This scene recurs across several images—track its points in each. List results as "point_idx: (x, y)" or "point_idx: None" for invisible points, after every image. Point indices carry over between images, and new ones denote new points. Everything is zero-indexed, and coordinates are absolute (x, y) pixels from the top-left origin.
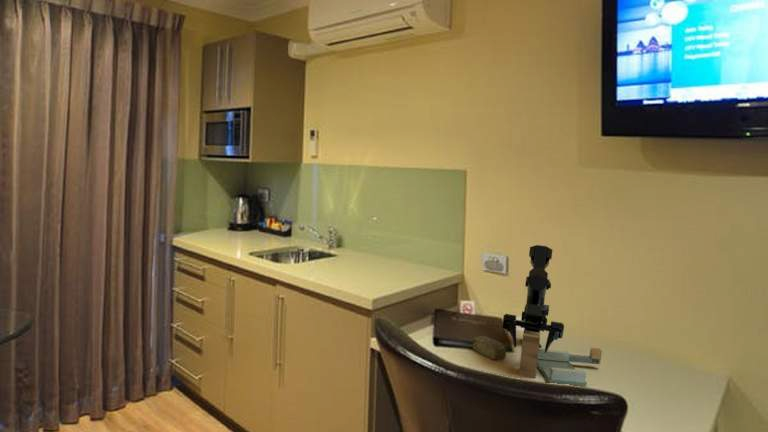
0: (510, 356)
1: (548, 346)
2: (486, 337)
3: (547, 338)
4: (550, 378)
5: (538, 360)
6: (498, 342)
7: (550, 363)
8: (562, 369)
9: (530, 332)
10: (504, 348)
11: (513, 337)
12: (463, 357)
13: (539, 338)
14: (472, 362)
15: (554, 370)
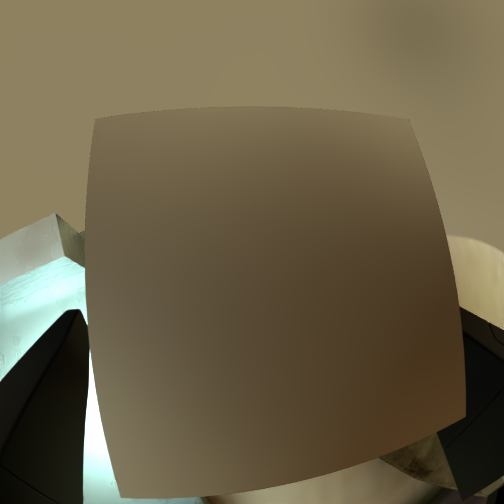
0: (351, 496)
1: (31, 355)
2: (494, 484)
3: (12, 428)
4: (83, 244)
5: (191, 500)
6: (452, 479)
7: (116, 490)
8: (1, 263)
9: (344, 368)
10: (414, 453)
11: (466, 312)
12: (498, 312)
13: (105, 125)
14: (468, 283)
15: (45, 218)
